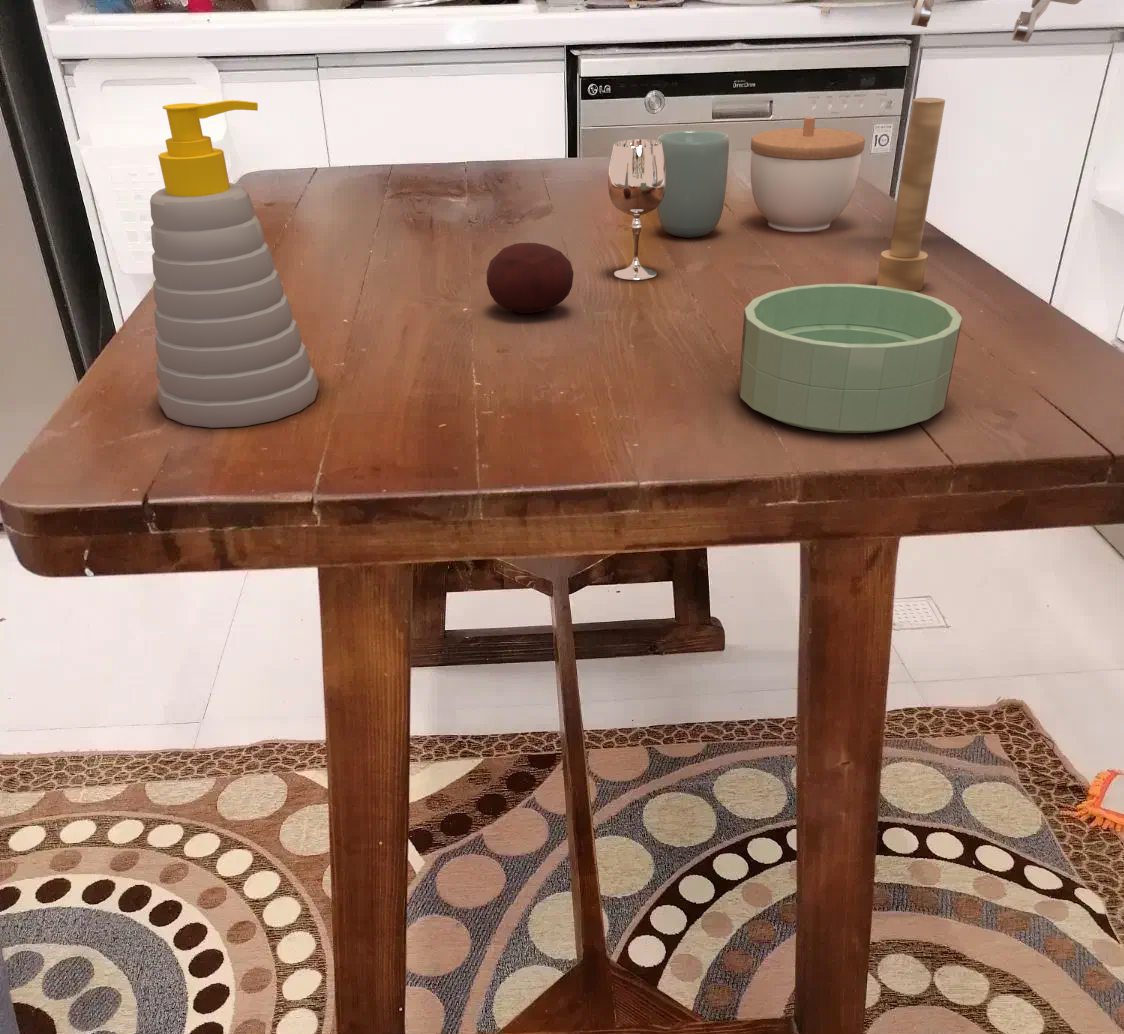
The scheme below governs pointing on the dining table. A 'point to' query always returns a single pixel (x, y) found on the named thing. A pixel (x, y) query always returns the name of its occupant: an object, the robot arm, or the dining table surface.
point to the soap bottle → (218, 292)
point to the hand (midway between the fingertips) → (970, 30)
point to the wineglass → (637, 190)
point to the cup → (693, 181)
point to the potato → (529, 277)
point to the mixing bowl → (847, 356)
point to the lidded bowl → (804, 175)
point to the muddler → (913, 199)
